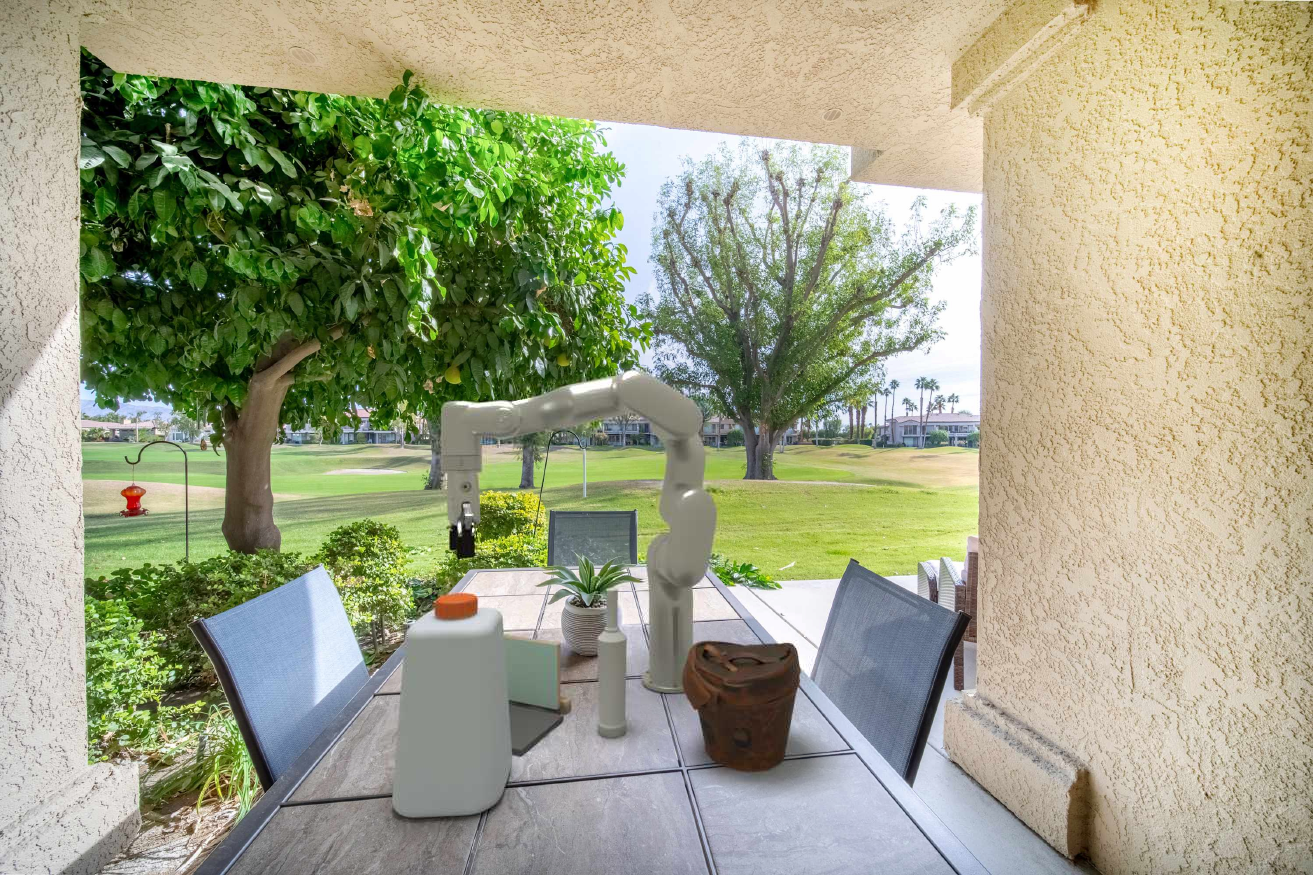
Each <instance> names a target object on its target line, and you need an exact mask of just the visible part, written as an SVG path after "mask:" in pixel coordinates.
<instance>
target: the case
mask: <svg viewBox="0 0 1313 875" xmlns="http://www.w3.org/2000/svg"><path fill="white" fill-rule="evenodd" d="M799 658H800V657H799V653H798V650H797V647H796V646H795V644H793V643H791V642H782V643H762V644H761V643H760V644H758V643H757V644H755V643H754V644H750V643H749V644H746V645H745V644H738V643H735V642H729V641H728V642H727V641H720V640H704V641H703V640H702V641H698V642H695V643H693V646H692V647H691V649H690V652H689V654H688V658H687V661H686V664H685V667H684V670H683V676H682V684H683V688H684V691H685V692H684V694H685V696H686V697H687V700H688V702H689V703H690V705H691V707H692V708H693V710H695V711H696V710H697V713H698V714H697V715H698V718H699V723H700V728H701V733H702V736H703V742H704V750H705V752H706V755H707V756H708V757H709V758H710V759H711V761H713V762H715V763H717V764H719V765H721V766H723V767H726V768H728V769H731V770H736V771H741V772H761V771H769V770H771V769H774V768H776V767H777V766H779V765H780V764H782V763H783V761H784V759H785V756H786V753H787V752H786V751H787V747H788V740H789V735H790V731H791V730H790V729H791V726H792V718H793V714H794V708H795V707H794V706H795V703H796V697H797V691H798V689H799V686H800V683H801V680H800V678H801V677H800V676H801V673H802V671H801V664H800V659H799Z"/></svg>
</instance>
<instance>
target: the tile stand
mask: <svg viewBox="0 0 1313 875" xmlns="http://www.w3.org/2000/svg"><path fill="white" fill-rule="evenodd" d="M508 704H509V705H514V706H519V707H524V708H529V709H534V710H539V711H544V712H548V713H553V714H558V715H562V714H563V715H567V714H569V712H571V711H572V698H571V697H566V696H561V707H560V708H559V709H558V710H556V709H551V708H546V707H541V706H536V705H531V704H526V703H521V702H516V701H511V700H508Z"/></svg>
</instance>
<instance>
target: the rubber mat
mask: <svg viewBox="0 0 1313 875" xmlns="http://www.w3.org/2000/svg"><path fill="white" fill-rule="evenodd" d="M509 719H510V733H511V748H512V756H513V755H514V756H518V757H522V756H523V755H524V754H526V753H527V752H528V751H529V750H531V748H533V747H534V746H535V745H537V744H538V743H539V742H540V741H541V740H543V739H544V738H545V737H547V735H548V734H550V733H551V732H553V731H554V730H555V729H556V728H557V727H559V725H561V724H562V723H563V722H564V714H563V715H562V714H560V715H558V714H553V713H548V712H544V711H539V710H534V709H529V708H524V707H519V706H514V705H509Z"/></svg>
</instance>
